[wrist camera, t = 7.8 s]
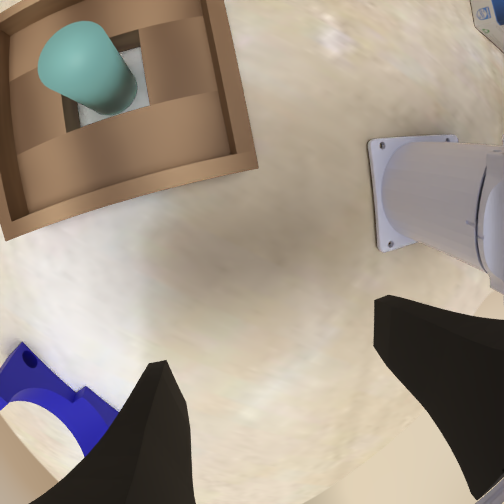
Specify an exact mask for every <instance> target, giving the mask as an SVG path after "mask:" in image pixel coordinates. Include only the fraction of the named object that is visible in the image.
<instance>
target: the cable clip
mask: <svg viewBox="0 0 504 504" xmlns="http://www.w3.org/2000/svg"><path fill="white" fill-rule="evenodd" d="M13 401H27V402H32V403H35V404H37V405H40V406H42V407H44V408H45V409H47V410H48V411H50V412H51V413H53V414H54V415H55V416H56V417H58V418H59V419H60V420H61V421H62V422H63V423H64V424H65V425H66V426H67V428H68V429H69V430H70V431H71V433H72V434H73V435H74V437H75V438H76V440H77V442H78V443H79V445H80V447H81V449H82V452H83V454H84V457H86V455H87V454H88V453H89V452H90V451H91V450H92V449H93V447H94V446H95V445H96V444H97V443H98V441H99V440H100V439H101V438H102V436H103V435H104V434H105V432H106V431H107V430H108V428H109V427H110V425H111V424H112V422H113V421H114V419H115V418H116V416H117V415H118V414H119V412H118V411H116V410H115V409H114V408H113V407H111V406H110V405H109V404H107V403H106V402H105V401H104V400H102V399H101V398H100V397H99V396H97V395H96V394H95V393H94V392H93V391H91V390H90V389H89V388H88V387H87V386H85V387H84V388H82V389H81V390H79V391H78V392H77V393H76V392H74V391H73V390H72V389H71V388H70V387H69V386H67V385H66V384H65V383H64V382H63V381H62V380H61V379H60V378H59V377H57V376H56V375H55V374H54V373H53V372H52V371H51V370H50V369H49V368H48V367H47V366H46V365H45V364H44V363H43V362H42V361H41V360H40V359H39V358H38V357H37V356H36V355H35V354H34V353H33V352H32V351H31V350H30V349H29V348H28V347H27V346H26V345H25V344H24V343H23V342H21V343H20V345H19V346H18V347H17V348H16V349H15V350H14V351H13V352H12V353H11V354H10V355H9V356H8V358H7V359H6V361H5V362H4V363H3V365H2V366H1V368H0V410H2V409H3V408H4V407H5V406H6V405H7V404H8V403H9V402H13Z"/></svg>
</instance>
